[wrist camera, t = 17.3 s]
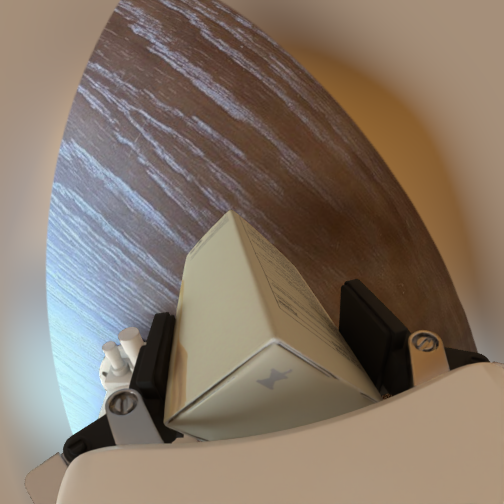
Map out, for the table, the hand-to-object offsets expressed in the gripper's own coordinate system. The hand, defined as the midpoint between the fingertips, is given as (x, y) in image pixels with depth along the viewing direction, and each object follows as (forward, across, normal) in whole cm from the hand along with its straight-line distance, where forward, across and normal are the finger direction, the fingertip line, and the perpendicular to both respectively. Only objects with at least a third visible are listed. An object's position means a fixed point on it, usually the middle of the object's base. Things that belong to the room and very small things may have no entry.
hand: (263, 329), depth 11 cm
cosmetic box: (+7, 0, 0) cm, 7 cm away
